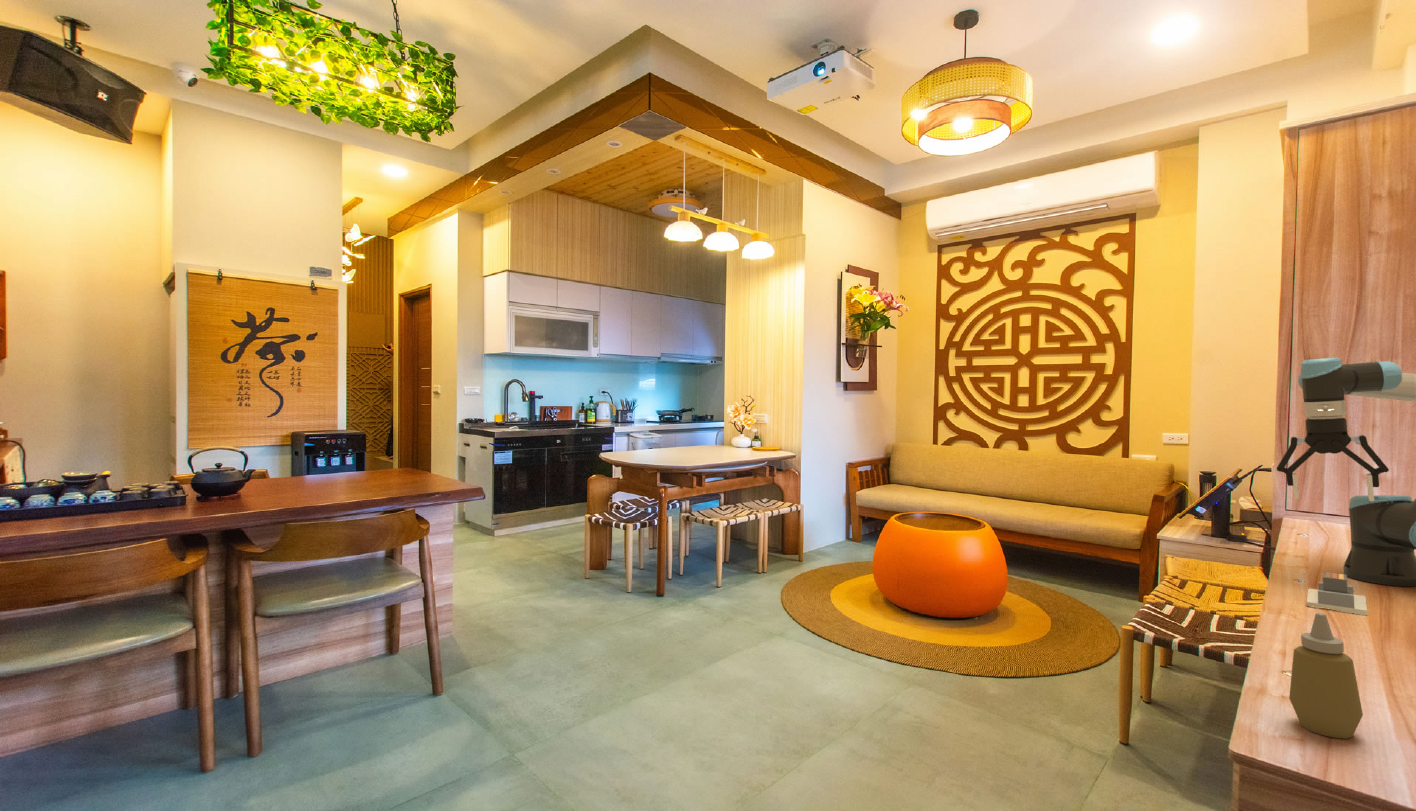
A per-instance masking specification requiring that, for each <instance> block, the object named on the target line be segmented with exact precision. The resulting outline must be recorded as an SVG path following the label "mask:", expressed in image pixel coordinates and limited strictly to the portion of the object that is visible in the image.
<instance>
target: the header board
mask: <svg viewBox="0 0 1416 811" xmlns="http://www.w3.org/2000/svg"><path fill="white" fill-rule="evenodd" d="M1307 590H1308V591H1307V597H1306V606H1307V605H1308V606H1314V607H1324V608H1329V609H1332V610H1338V611H1337V612H1339V611H1341V612H1340V613H1347V614H1352V613H1354V615H1359V616H1360V615H1361V616H1368V609H1367V600H1366V595H1362V594H1354V585H1349V584H1347V594H1345V593H1338V592H1330V591H1323V581H1318V589H1316V588H1308V589H1307ZM1332 610H1331V611H1332Z"/></svg>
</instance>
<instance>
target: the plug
mask: <svg viewBox="0 0 1416 811" xmlns="http://www.w3.org/2000/svg"><path fill="white" fill-rule="evenodd" d="M1322 582H1323V591H1330V592H1338V593H1345V594H1347V585H1348V577H1347V575H1344V573H1335V572H1327V571H1325V572H1324V571H1323V572H1322Z"/></svg>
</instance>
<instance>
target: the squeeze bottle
mask: <svg viewBox="0 0 1416 811" xmlns="http://www.w3.org/2000/svg"><path fill="white" fill-rule="evenodd" d="M1300 638H1301V639H1300V640H1301V645H1299V646H1297V647H1295V648H1294V649H1293V654H1292V655H1293V657H1292V667H1291V676H1290V677H1291V678H1290V684H1289V685H1290V688H1289V701H1290V703H1291V705H1292V708H1293V710H1294V712H1295V714H1296V717H1297V719H1298V721H1299V723H1300V725H1301V726H1302V727H1304V728H1305V729H1307V730H1309V731H1311V732H1313V733H1315V734H1318V735H1322V736H1324V737H1330V738H1335V739H1351V738H1352V737H1354V734H1355V732H1357V731H1356V730H1357V728H1358V726H1359V724H1360V722H1361V720H1362V719H1363V715H1364V714H1363V707H1362V703H1361V698H1360V697H1361V696H1360V693H1359V688H1358V681H1357V676H1356V671H1355V666H1354V660H1353V659H1352V658H1351V656H1349V655H1348V654H1346V653H1344V650H1345V648H1344V641H1343V640H1342V639H1340V638H1338V637H1336V636H1334V635H1333V632H1332V629H1331V626H1330V623H1329V620H1328V617H1327V615H1326V614H1324V613H1319V612H1318V613H1315V615H1314V618H1313V622H1312V625H1311V629H1310V632H1304V633H1302V634H1301V635H1300Z"/></svg>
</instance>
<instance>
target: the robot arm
mask: <svg viewBox="0 0 1416 811" xmlns="http://www.w3.org/2000/svg"><path fill="white" fill-rule="evenodd" d="M1297 379H1298V380H1297V382H1298V385H1299V388H1301V389H1302V396H1303V410H1304V417H1306V420H1304V422H1305V430H1306V432H1305V433H1306V435H1305V437H1297V436H1291V437H1290V445H1289V446H1288V448H1287V449H1286V451H1285V453H1284V455H1283V456H1282V458H1281V460H1280V461H1279V463H1278V465H1277V466H1276V471H1277V472H1279V473H1280V472H1281V473H1284V474H1285V475H1286V476H1285V477H1286V483H1287V485H1288V487H1289V486H1291V487H1293V496H1294V497H1293V498H1294V500H1299V499H1300V498H1299V491H1298V477H1297V473H1296V472H1295V471H1296V470H1297V469H1298V468H1300V466H1302V464H1304V462H1306V461H1307V460H1308V459H1309V458H1310V457H1311V456H1313V455H1314V454H1315V453H1318V454H1324V455H1325V454H1332V455H1333V454H1335V455H1336V454H1340V453H1341V452H1342V453H1344V454H1345V455H1346V456H1348V457H1349V458H1350V459H1352V460H1354V461H1355V462H1356V463H1357V464H1358V465H1360V466H1361V467H1362V468H1364V469H1366V471H1368V472H1369V473H1365V477H1366V484H1367V485H1366V486H1367V494H1368V495H1354V496H1352V497H1350V499H1349V506H1348V513H1349V526H1350V527H1349V529H1350V543H1351V544H1350V546H1351V548H1350V550H1349V553H1348V555H1347V558H1346V560H1345V562H1344V564H1343V567H1342V568H1343V574H1344V575H1347V578H1351V579H1354V580H1358V581H1362V582H1367V583H1371V584H1372V583H1373V584H1378V585H1387V586H1394V587H1395V586H1396V587H1397V586H1398V587H1416V554H1415V550H1416V498H1415V499H1414V500H1413V499H1412V497H1411V496H1409V495H1394V494H1393V495H1386V494H1385V495H1382V494H1381V495H1379V494H1378V495H1377V494H1374V488H1379V487H1380V478H1379V475H1381V474H1383V473H1387V472H1389V471H1390V469H1389V467H1388V466H1387V465H1386V464H1385V463H1384V462H1383V460H1382V459H1381V458H1380V457H1379V455H1377V453H1376V452H1375V451H1374V449H1372V447H1371V446H1370V445H1369V443H1368V440H1367V437H1366V436H1365V435H1364V434H1360V435H1355V436H1350V435H1349V434H1348V423H1347V418H1345V417H1344V416H1346V415H1347V412H1346V401H1345V395H1346V396H1356V397H1364V398H1365V397H1366V398H1367V397H1368V398H1376V399H1385V400H1386V399H1387V400H1395V401H1403V402H1404V401H1406V402H1415V403H1416V373H1411V372H1402V369H1401V367H1400V366H1399V365H1398V364H1397V363H1396V362H1392V361H1387V360H1386V361H1379V360H1378V361H1369V362H1358V363H1356V362H1355V363H1347V364H1346V363H1345V364H1343V363H1342V360H1341V358H1339V357H1325V358H1315V359H1314V358H1312V359H1305V360H1303V361H1302V362H1301V364H1300V373H1299V376H1298V378H1297ZM1351 442H1354V443H1355V444H1356V445H1360V446H1361V448H1362V449H1363V450H1364V451H1365V453H1366V454H1367V455H1368V456H1369V457H1370V459H1371V460H1372V461H1373V462H1374V463H1375V465H1376V466H1377V467H1376V468H1375V467H1373V466H1372V465H1371V464H1369V463H1368V462H1367V461H1365V460H1364V459H1363V458H1361V457H1360V456H1358V455H1357V454H1356V453H1355V452H1353V451H1352V450H1351V449H1349V448H1348V447H1347V446H1348V445H1349V444H1350V443H1351ZM1302 443H1305V444H1306V445H1308V446H1309V448H1308V449H1306V451H1305V452H1304V453H1302V455H1300V456H1299V457H1298V458H1297V459H1296V460H1295V461H1294V462H1293V463H1292V464H1290V465H1289V467H1286V465H1287V464H1288V462H1289V460H1290V459H1291V458H1292V455H1293V453H1295V450H1296V449H1297V446H1301V444H1302Z"/></svg>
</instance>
